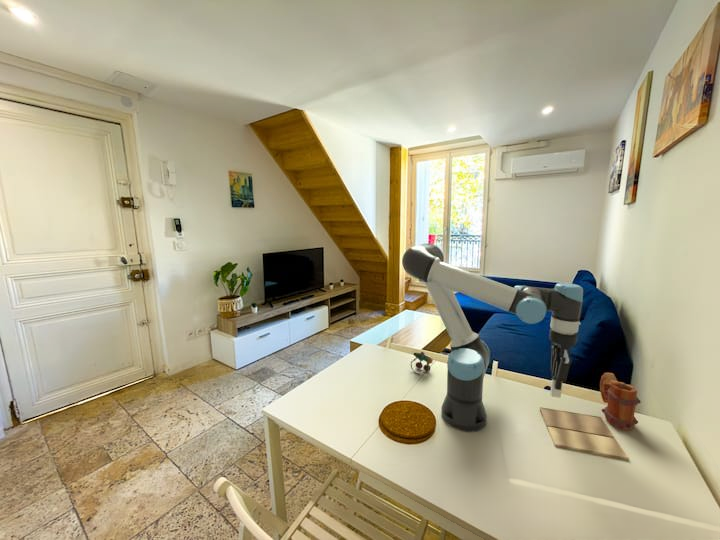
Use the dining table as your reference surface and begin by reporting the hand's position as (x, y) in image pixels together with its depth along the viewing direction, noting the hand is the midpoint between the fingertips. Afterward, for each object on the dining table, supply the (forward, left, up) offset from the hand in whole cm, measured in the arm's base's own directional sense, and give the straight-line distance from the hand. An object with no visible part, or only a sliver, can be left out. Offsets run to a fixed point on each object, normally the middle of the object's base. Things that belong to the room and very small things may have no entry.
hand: (555, 395), depth 99 cm
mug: (+19, +6, -9) cm, 22 cm away
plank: (+6, -1, -9) cm, 10 cm away
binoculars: (-47, +22, -9) cm, 53 cm away
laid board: (+6, -11, -9) cm, 15 cm away
